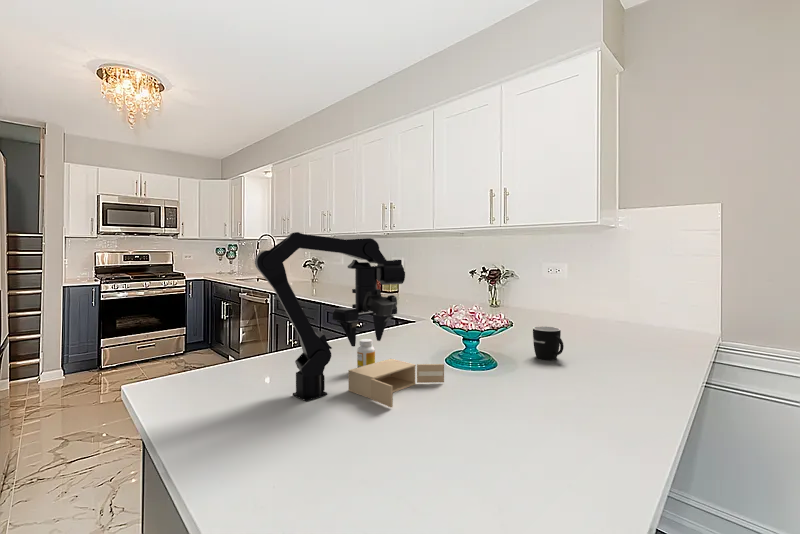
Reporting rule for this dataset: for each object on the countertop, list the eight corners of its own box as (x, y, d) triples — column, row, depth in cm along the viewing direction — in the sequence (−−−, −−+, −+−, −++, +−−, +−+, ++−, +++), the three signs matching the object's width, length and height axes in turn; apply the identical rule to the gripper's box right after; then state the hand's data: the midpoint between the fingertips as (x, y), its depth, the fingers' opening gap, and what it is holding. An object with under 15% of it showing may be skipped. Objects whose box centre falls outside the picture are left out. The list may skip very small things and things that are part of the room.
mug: (527, 356, 147) (527, 327, 147) (547, 353, 151) (547, 325, 150) (551, 364, 136) (552, 333, 136) (572, 361, 139) (573, 331, 139)
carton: (373, 399, 105) (373, 377, 104) (348, 390, 111) (348, 370, 111) (415, 384, 116) (415, 364, 116) (390, 377, 123) (390, 358, 123)
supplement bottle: (376, 369, 131) (376, 338, 131) (373, 374, 126) (373, 342, 125) (359, 369, 131) (359, 338, 131) (355, 374, 126) (355, 341, 126)
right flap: (443, 381, 117) (443, 364, 117) (444, 382, 117) (444, 364, 116) (416, 382, 117) (416, 364, 117) (417, 382, 116) (417, 364, 116)
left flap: (371, 399, 104) (371, 379, 104) (373, 398, 104) (372, 378, 104) (391, 407, 98) (391, 386, 98) (393, 406, 99) (392, 385, 98)
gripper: (360, 289, 100) (360, 354, 101) (411, 285, 114) (411, 342, 115) (330, 287, 108) (331, 347, 108) (382, 282, 122) (383, 336, 122)
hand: (366, 343), depth 113 cm, fingers open, 9 cm apart
